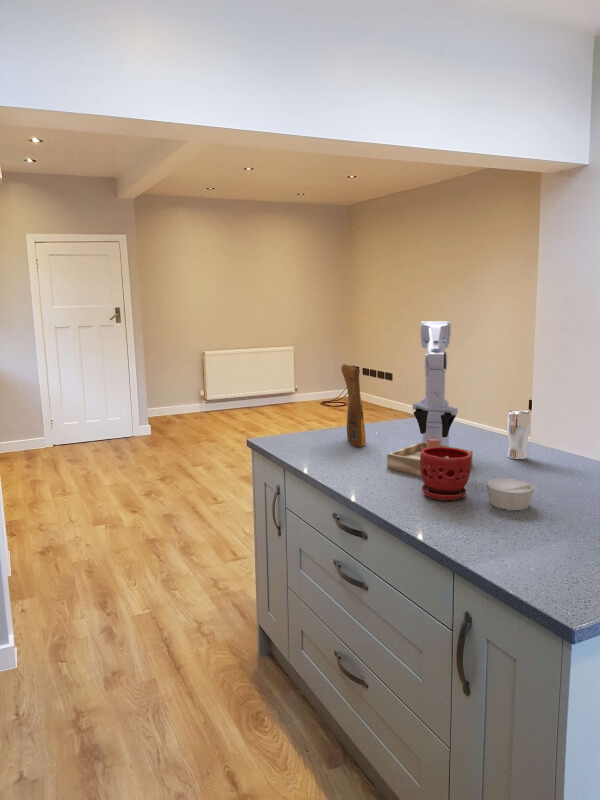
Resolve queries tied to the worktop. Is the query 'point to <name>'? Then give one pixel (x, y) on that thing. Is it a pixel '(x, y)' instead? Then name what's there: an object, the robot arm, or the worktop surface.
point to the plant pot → (445, 472)
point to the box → (410, 458)
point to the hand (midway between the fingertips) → (433, 435)
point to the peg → (433, 443)
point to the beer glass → (518, 433)
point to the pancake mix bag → (354, 407)
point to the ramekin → (509, 493)
